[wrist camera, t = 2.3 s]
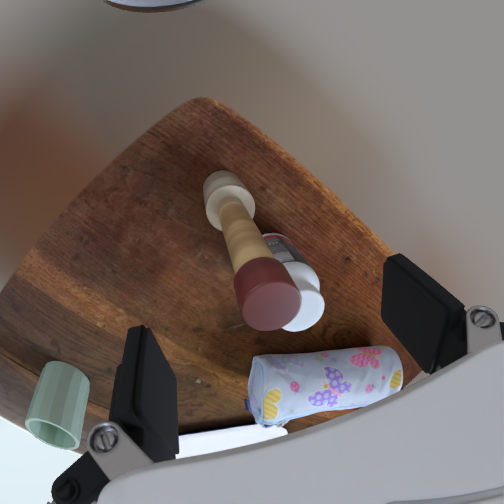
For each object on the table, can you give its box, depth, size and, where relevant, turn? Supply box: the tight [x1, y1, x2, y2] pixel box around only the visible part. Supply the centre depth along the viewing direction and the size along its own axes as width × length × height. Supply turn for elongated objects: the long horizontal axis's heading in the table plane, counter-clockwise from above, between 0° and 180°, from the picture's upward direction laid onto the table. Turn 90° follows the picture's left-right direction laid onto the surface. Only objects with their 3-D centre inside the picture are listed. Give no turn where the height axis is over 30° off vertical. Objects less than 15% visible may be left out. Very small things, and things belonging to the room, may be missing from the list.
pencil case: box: [245, 345, 403, 428], centre depth 36 cm, size 21×9×10 cm, turn 83°
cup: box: [25, 361, 90, 450], centre depth 29 cm, size 7×7×10 cm
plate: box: [176, 423, 288, 459], centre depth 48 cm, size 25×25×2 cm
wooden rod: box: [203, 170, 302, 331], centre depth 19 cm, size 4×4×18 cm
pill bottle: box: [262, 233, 324, 332], centre depth 27 cm, size 5×5×10 cm
